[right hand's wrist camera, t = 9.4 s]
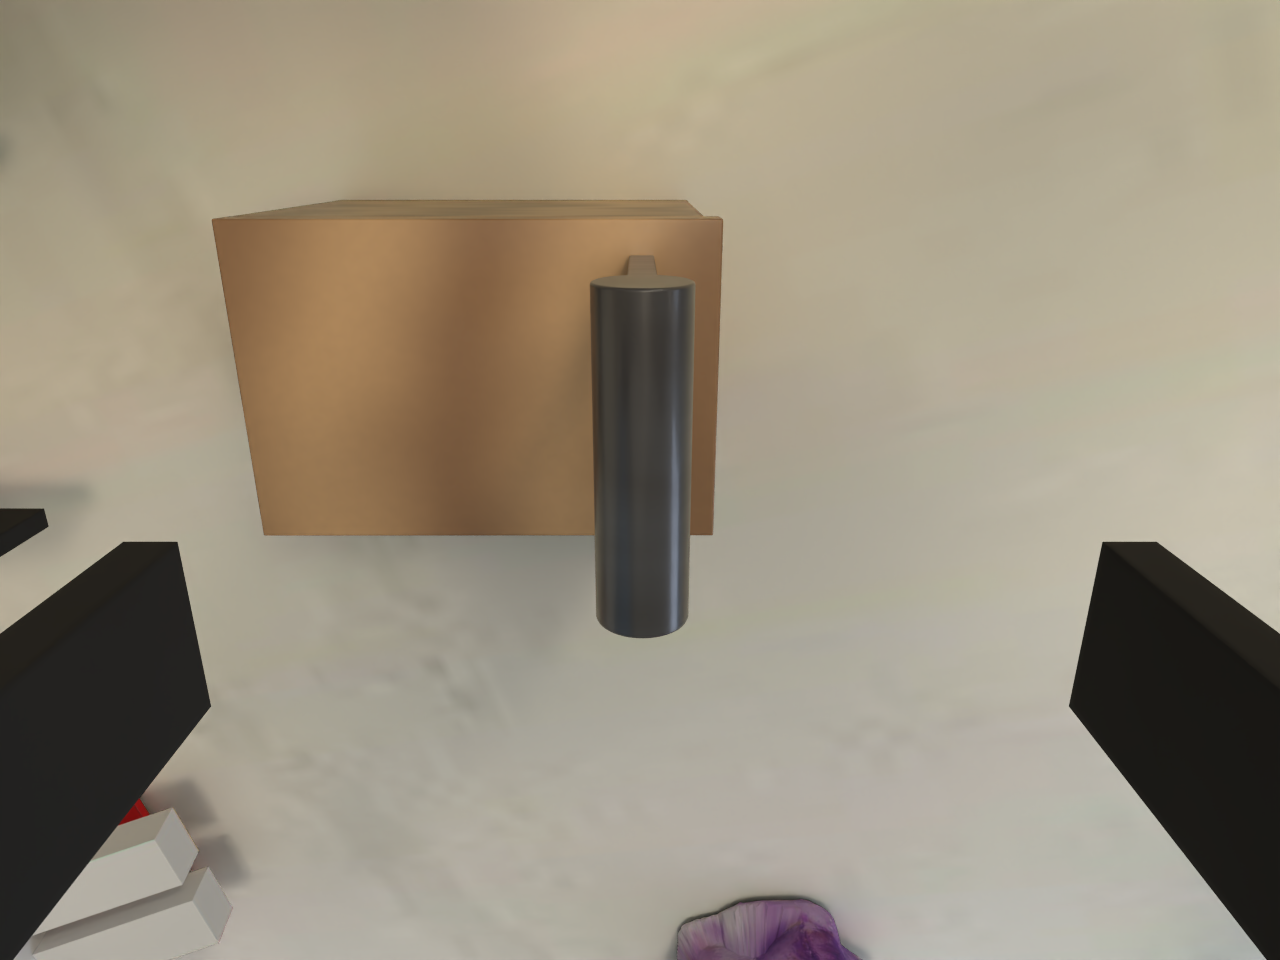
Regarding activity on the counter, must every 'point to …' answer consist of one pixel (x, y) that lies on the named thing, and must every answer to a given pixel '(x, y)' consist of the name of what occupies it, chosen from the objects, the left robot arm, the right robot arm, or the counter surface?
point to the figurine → (764, 933)
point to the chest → (490, 208)
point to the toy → (136, 898)
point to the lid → (486, 383)
